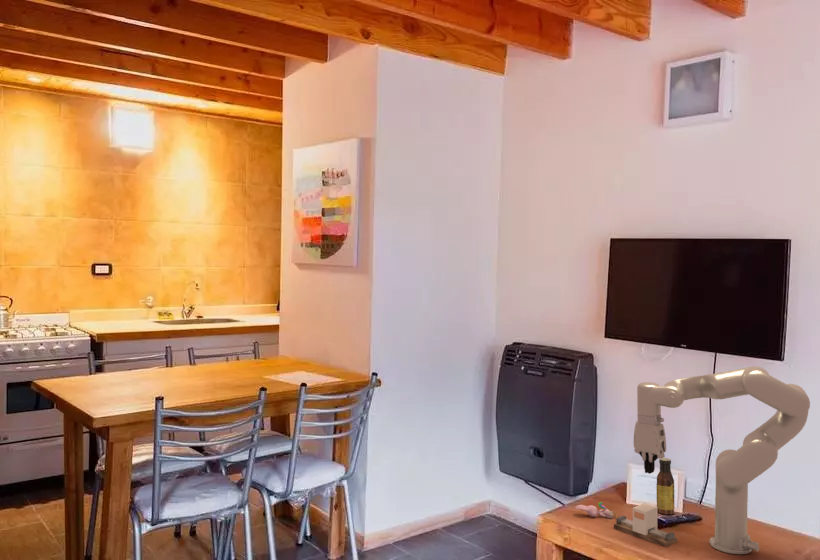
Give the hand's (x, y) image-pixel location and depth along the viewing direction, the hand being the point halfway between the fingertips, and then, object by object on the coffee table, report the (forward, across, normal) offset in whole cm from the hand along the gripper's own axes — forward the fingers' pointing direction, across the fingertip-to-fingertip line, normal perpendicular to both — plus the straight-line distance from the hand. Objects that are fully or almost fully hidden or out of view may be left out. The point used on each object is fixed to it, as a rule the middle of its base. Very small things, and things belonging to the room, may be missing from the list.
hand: (649, 472), depth 232 cm
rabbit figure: (+21, +21, +1) cm, 30 cm away
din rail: (+20, +1, +2) cm, 20 cm away
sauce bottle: (+22, +7, -23) cm, 32 cm away
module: (+20, +1, +2) cm, 20 cm away
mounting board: (+21, +1, +2) cm, 21 cm away
